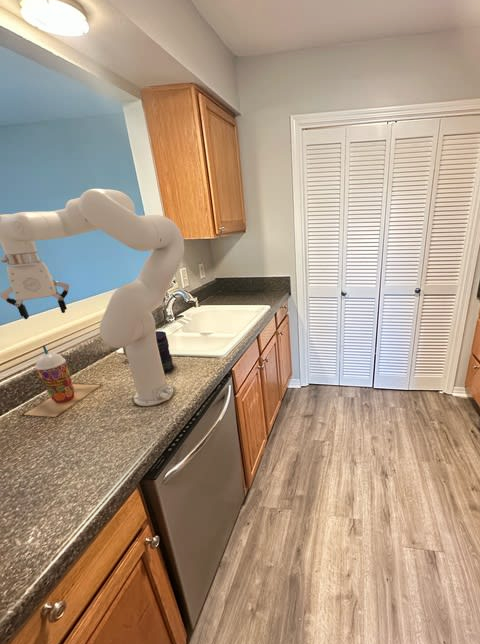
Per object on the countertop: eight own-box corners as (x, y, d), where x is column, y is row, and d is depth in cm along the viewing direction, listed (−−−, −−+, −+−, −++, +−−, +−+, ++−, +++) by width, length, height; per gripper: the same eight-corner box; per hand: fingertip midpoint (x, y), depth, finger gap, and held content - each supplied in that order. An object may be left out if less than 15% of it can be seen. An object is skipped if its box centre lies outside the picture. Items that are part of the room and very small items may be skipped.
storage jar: (177, 364, 134) (169, 330, 128) (169, 375, 125) (160, 339, 119) (153, 365, 134) (144, 331, 128) (143, 376, 125) (133, 341, 119)
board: (72, 384, 122) (72, 383, 122) (100, 385, 120) (100, 385, 120) (23, 415, 104) (23, 414, 104) (55, 417, 102) (55, 416, 102)
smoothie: (48, 408, 107) (24, 353, 99) (52, 396, 114) (30, 344, 106) (77, 400, 110) (56, 347, 102) (79, 390, 117) (60, 339, 109)
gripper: (-18, 264, 89) (8, 323, 95) (57, 257, 96) (77, 312, 103) (-11, 262, 95) (14, 317, 101) (60, 255, 102) (78, 307, 109)
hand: (45, 315), depth 102 cm, fingers open, 9 cm apart
